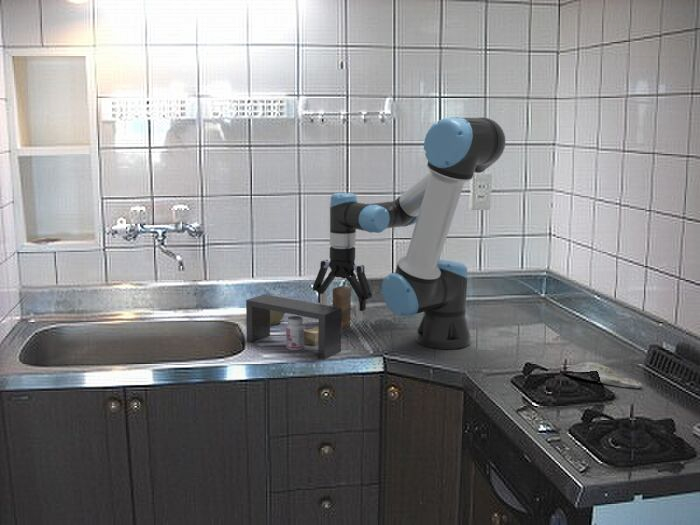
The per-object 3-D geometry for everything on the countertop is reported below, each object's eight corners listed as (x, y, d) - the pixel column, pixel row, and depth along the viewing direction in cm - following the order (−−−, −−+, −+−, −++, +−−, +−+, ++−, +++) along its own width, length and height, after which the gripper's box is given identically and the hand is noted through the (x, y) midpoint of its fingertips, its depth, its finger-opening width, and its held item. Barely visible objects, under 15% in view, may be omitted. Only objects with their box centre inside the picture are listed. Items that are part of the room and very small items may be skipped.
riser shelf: (341, 351, 204) (341, 308, 202) (324, 359, 197) (325, 314, 195) (264, 334, 217) (264, 294, 215) (246, 341, 211) (246, 299, 208)
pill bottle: (282, 348, 206) (282, 318, 204) (292, 343, 210) (292, 314, 208) (297, 351, 203) (297, 321, 202) (306, 346, 207) (307, 317, 206)
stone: (635, 403, 178) (646, 389, 186) (638, 390, 177) (649, 375, 185) (555, 379, 189) (569, 365, 197) (557, 365, 187) (571, 353, 195)
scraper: (355, 327, 226) (356, 288, 224) (314, 345, 208) (315, 303, 206) (335, 323, 230) (336, 285, 227) (294, 341, 212) (294, 299, 210)
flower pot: (286, 327, 225) (286, 304, 223) (252, 326, 225) (252, 303, 223) (289, 318, 234) (289, 295, 233) (257, 317, 235) (257, 295, 233)
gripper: (385, 249, 218) (383, 321, 222) (315, 239, 230) (314, 308, 235) (372, 253, 212) (370, 327, 216) (301, 243, 224) (300, 313, 229)
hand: (341, 317), depth 226 cm, fingers open, 12 cm apart
